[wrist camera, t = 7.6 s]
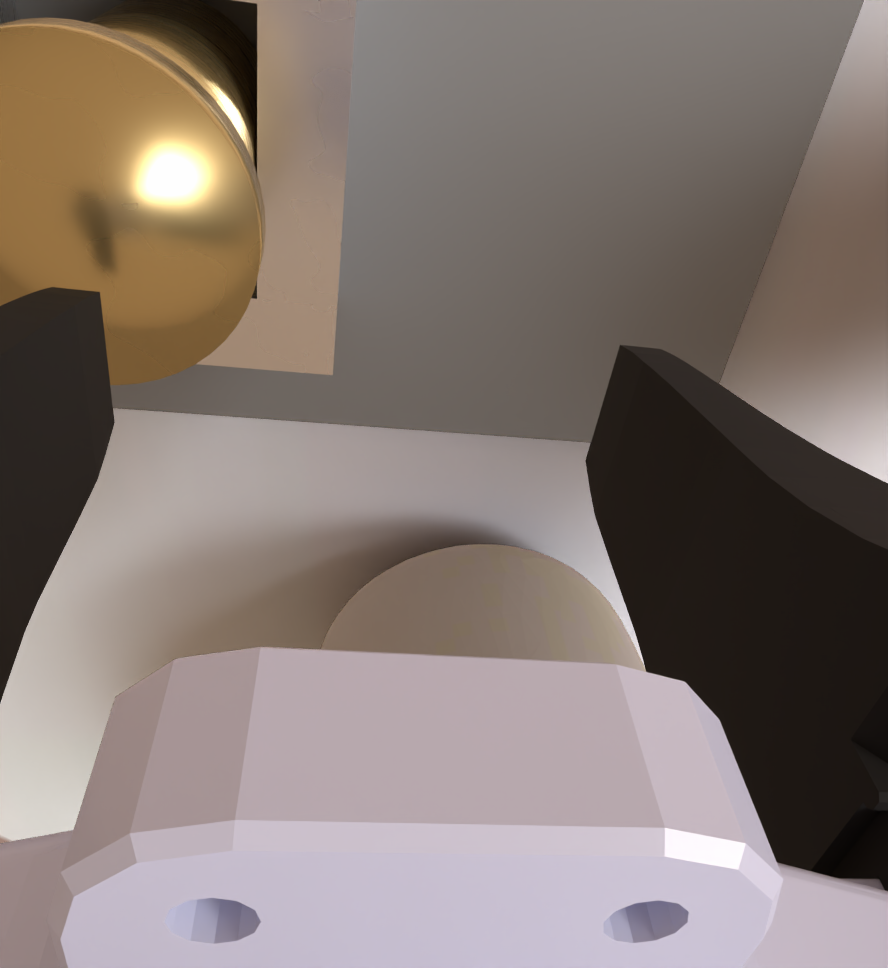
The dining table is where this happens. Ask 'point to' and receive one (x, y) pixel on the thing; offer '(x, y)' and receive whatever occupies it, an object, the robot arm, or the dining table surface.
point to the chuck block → (295, 184)
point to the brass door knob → (134, 175)
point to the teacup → (484, 610)
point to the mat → (539, 203)
